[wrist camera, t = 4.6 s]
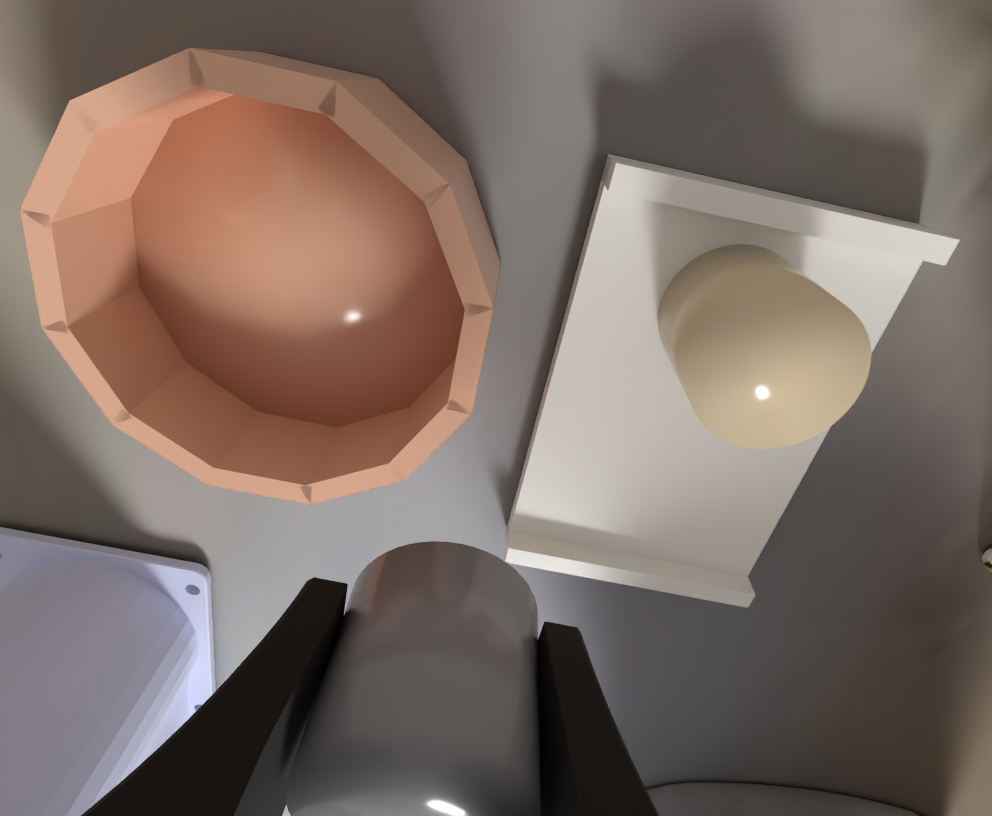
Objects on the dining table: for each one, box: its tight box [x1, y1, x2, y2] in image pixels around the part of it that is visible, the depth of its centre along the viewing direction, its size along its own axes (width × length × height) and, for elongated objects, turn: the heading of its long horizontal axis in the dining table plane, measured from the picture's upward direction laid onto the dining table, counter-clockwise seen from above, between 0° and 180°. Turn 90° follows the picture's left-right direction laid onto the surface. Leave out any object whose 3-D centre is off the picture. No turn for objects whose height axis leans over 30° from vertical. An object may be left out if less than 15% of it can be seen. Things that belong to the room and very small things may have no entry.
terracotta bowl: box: [20, 48, 501, 505], centre depth 15 cm, size 10×10×4 cm
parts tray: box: [505, 154, 960, 608], centre depth 17 cm, size 12×8×2 cm, turn 169°
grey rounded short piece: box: [285, 542, 541, 816], centre depth 10 cm, size 4×4×4 cm
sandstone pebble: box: [658, 244, 871, 449], centre depth 14 cm, size 4×4×4 cm
